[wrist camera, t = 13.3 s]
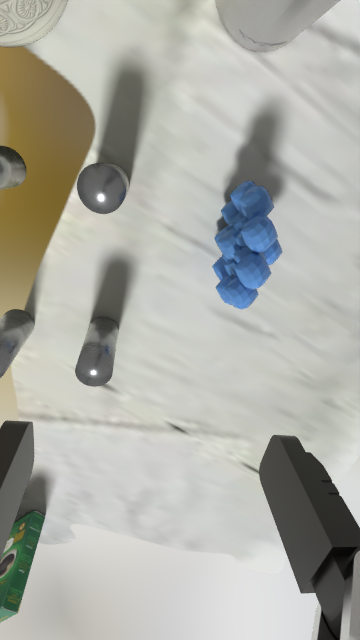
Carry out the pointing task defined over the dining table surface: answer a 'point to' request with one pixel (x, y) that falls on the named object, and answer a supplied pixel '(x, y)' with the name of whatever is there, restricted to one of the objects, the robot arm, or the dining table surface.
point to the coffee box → (18, 562)
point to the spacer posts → (100, 343)
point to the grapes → (246, 245)
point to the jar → (27, 20)
